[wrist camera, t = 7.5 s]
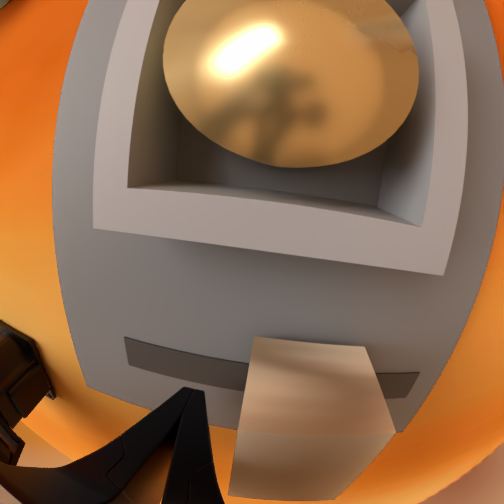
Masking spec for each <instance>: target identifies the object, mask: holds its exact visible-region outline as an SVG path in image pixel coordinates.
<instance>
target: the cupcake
mask: <svg viewBox="0 0 504 504" xmlns="http://www.w3.org/2000/svg"><path fill="white" fill-rule="evenodd" d="M8 2H9V0H0V9H1V8H2V7H3V6H5V5H6V4H7V3H8Z"/></svg>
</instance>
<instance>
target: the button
mask: <svg viewBox="0 0 504 504" xmlns="http://www.w3.org/2000/svg"><path fill="white" fill-rule="evenodd" d="M163 69H164V75H165V80H166V83H167V86H168V89H169V92H170V94H171V96H172V98H173V100H174V101H175V103H176V105H177V107H178V108H179V109H180V111H181V112H182V113H183V115H184V116H185V117H186V119H187V120H188V121H189V122H190V123H191V124H192V125H193V126H194V127H195V128H196V129H197V130H198V131H200V132H201V133H202V134H204V135H205V136H206V137H208V138H209V139H210V140H211V141H213V142H215V143H217V144H218V145H220V146H222V147H223V148H225V149H227V150H229V151H232V152H234V153H236V154H238V155H241V156H243V157H246V158H248V159H251V160H254V161H257V162H260V163H263V164H266V165H270V166H275V167H281V168H306V167H319V166H325V165H331V164H337V163H341V162H344V161H348V160H351V159H354V158H356V157H359V156H361V155H363V154H365V153H368V152H370V151H371V150H373V149H374V148H376V147H378V146H379V145H381V144H382V143H384V142H385V141H386V140H387V139H388V138H390V137H391V136H392V135H393V134H394V133H395V132H396V131H397V130H398V128H399V127H400V126H401V125H402V124H403V122H404V121H405V119H406V117H407V116H408V114H409V112H410V111H411V108H412V106H413V103H414V101H415V98H416V93H417V89H418V81H419V68H418V59H417V54H416V51H415V47H414V44H413V41H412V39H411V37H410V34H409V32H408V30H407V28H406V27H405V25H404V23H403V22H402V20H401V19H400V17H399V16H398V15H397V13H396V12H395V11H394V10H393V8H392V7H391V6H390V5H389V4H388V3H387V2H386V1H385V0H186V1H185V2H184V3H183V4H182V6H181V7H180V9H179V10H178V12H177V13H176V14H175V16H174V18H173V20H172V22H171V24H170V26H169V29H168V32H167V35H166V38H165V42H164V49H163Z"/></svg>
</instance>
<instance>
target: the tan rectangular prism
mask: <svg viewBox="0 0 504 504" xmlns="http://www.w3.org/2000/svg"><path fill="white" fill-rule="evenodd" d="M395 433H396V431H395V428H394V425H393V422H392V419H391V416H390V413H389V410H388V407H387V404H386V401H385V399H384V396H383V393H382V390H381V388H380V385H379V382H378V379H377V377H376V374H375V372H374V369H373V366H372V364H371V361H370V359H369V356H368V354H367V351H366V349H365V347H362V346H345V345H331V344H319V343H309V342H299V341H290V340H281V339H273V338H265V337H258V336H254V340H253V346H252V352H251V357H250V363H249V369H248V375H247V381H246V387H245V392H244V398H243V404H242V409H241V415H240V420H239V426H238V432H237V439H236V445H235V452H234V458H233V465H232V471H231V478H230V484H229V491H228V495H230V496H236V497H244V498H253V499H264V500H280V501H322V500H335V499H336V498H337V497H338V496H339V495H340V494H341V493H342V492H343V491H344V490H345V489H346V488H347V487H348V486H349V485H351V484H352V483H353V482H354V481H355V479H356V478H357V477H358V476H359V475H360V474H361V473H362V472H363V471H364V470H365V469H366V468H367V467H368V466H369V465H370V464H371V462H372V461H373V460H374V459H375V458H376V457H377V456H378V454H379V453H380V452H381V451H382V450H383V448H384V447H385V446H386V445H387V443H388V442H389V441H390V440H391V438H392V437H393V436H394V435H395Z"/></svg>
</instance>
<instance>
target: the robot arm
mask: <svg viewBox="0 0 504 504" xmlns="http://www.w3.org/2000/svg"><path fill="white" fill-rule="evenodd" d="M44 396H47V397H49V398H50V399H52V400H54V399H55V398H56V397H57V396H56V394H55V392H54V389H53V387H52V385H51V383H50V381H49V378H48V376H47V374H46V371H45V369H44V366H43V364H42V361H41V359H40V356H39V354H38V351H37V348H36V345H35V343H34V342H33V341H32V339H30V338H28V337H27V336H25V335H23V334H21V333H20V332H18V331H16V330H14V329H13V328H11V327H9V326H8V325H6V324H4V323H3V322H1V321H0V504H160V501H161V499H162V502H161V504H225V503H224V501H223V498H222V495H221V492H220V489H219V486H218V483H217V478H216V473H215V467H214V463H213V455H212V448H211V440H210V433H209V425H208V416H207V408H206V398H205V392H204V391H203V390H198V389H193V388H189V387H182V388H181V389H180V390H179V391H177V392H176V393H175V394H174V395H172V396H171V397H170V398H169V399H167V400H166V401H165V402H164V403H162V404H161V405H160V406H158V407H157V408H156V409H155V410H153V411H152V412H151V413H149V414H148V415H147V416H145V417H144V418H143V419H142V420H140V421H139V422H138V423H136V424H135V425H134V426H132V427H131V428H129V429H128V430H127V431H125V432H124V433H123V434H121V436H118V437H117V438H116V439H114V440H113V441H111V442H110V443H108V444H107V445H105V446H104V447H102V448H100V449H98V450H96V451H95V452H93V453H91V454H89V455H87V456H85V457H83V458H81V459H78V460H76V461H74V462H72V463H70V464H68V465H65V466H62V467H57V468H36V467H20V466H16V465H17V462H18V460H19V457H20V455H21V452H22V450H23V448H24V445H25V442H24V441H23V440H22V439H21V438H20V437H18V436H17V435H16V433H15V432H14V431H13V430H12V429H13V428H14V427H15V426H16V425H17V423H18V422H19V421H20V420H21V419H22V417H23V418H26V417H27V416H28V415H29V414H30V413H31V411H32V410H33V409H34V408H35V407H36V405H37V404H38V403H39V402H40V401H41V400H42V398H43V397H44ZM10 427H11V428H12V429H11V428H10ZM162 497H163V498H162Z"/></svg>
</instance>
